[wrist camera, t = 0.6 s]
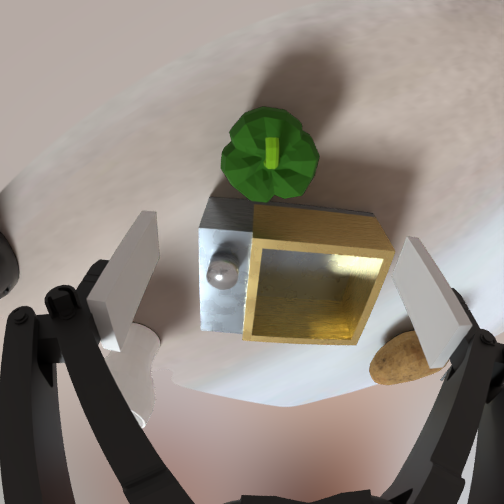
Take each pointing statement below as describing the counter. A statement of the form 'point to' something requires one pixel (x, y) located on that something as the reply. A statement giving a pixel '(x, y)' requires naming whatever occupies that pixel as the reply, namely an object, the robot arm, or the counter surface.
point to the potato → (400, 361)
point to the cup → (136, 370)
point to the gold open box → (289, 271)
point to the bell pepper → (269, 155)
